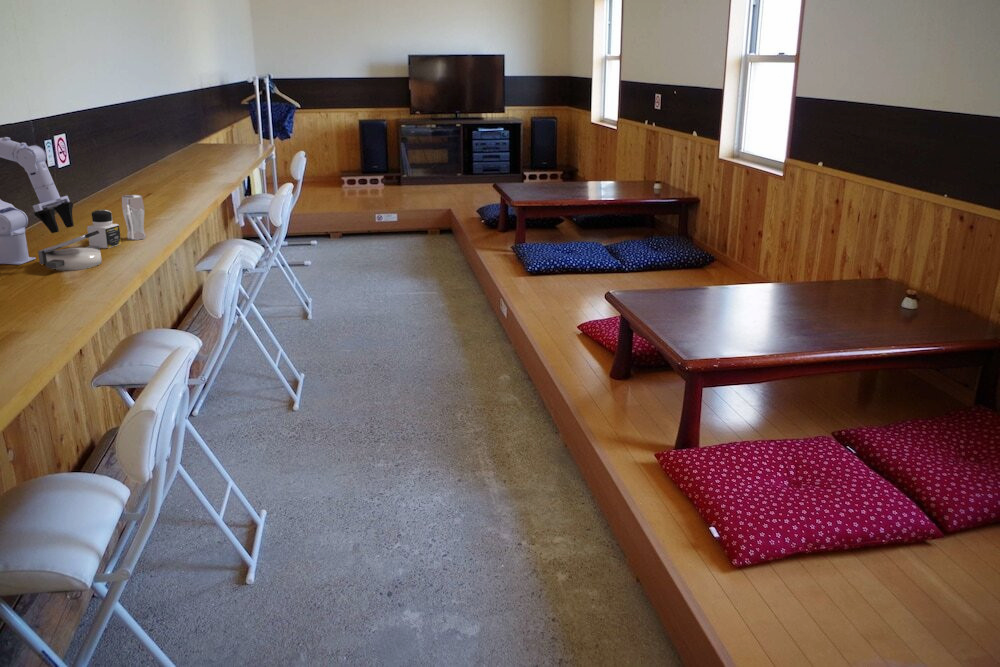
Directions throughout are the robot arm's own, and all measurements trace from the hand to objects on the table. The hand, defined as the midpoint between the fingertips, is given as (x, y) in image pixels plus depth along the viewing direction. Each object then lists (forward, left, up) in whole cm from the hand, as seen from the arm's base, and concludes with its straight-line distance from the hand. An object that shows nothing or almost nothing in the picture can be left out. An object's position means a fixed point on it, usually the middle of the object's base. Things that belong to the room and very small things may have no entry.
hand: (62, 229), depth 242 cm
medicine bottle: (-2, +25, -11) cm, 27 cm away
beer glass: (+2, +38, -11) cm, 40 cm away
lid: (+2, 0, -4) cm, 5 cm away
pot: (+2, 0, -11) cm, 11 cm away
